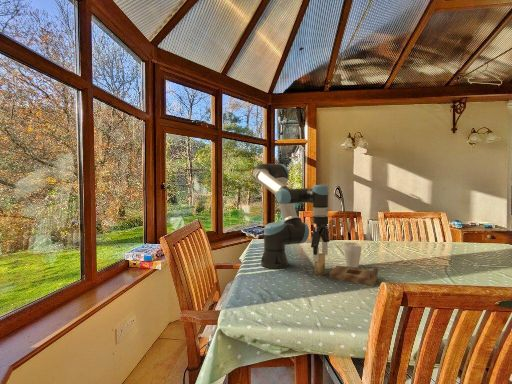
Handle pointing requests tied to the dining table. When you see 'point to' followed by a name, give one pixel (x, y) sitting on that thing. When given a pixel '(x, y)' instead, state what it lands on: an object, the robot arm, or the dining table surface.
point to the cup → (352, 254)
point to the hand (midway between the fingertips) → (320, 257)
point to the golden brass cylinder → (320, 265)
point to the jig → (355, 275)
